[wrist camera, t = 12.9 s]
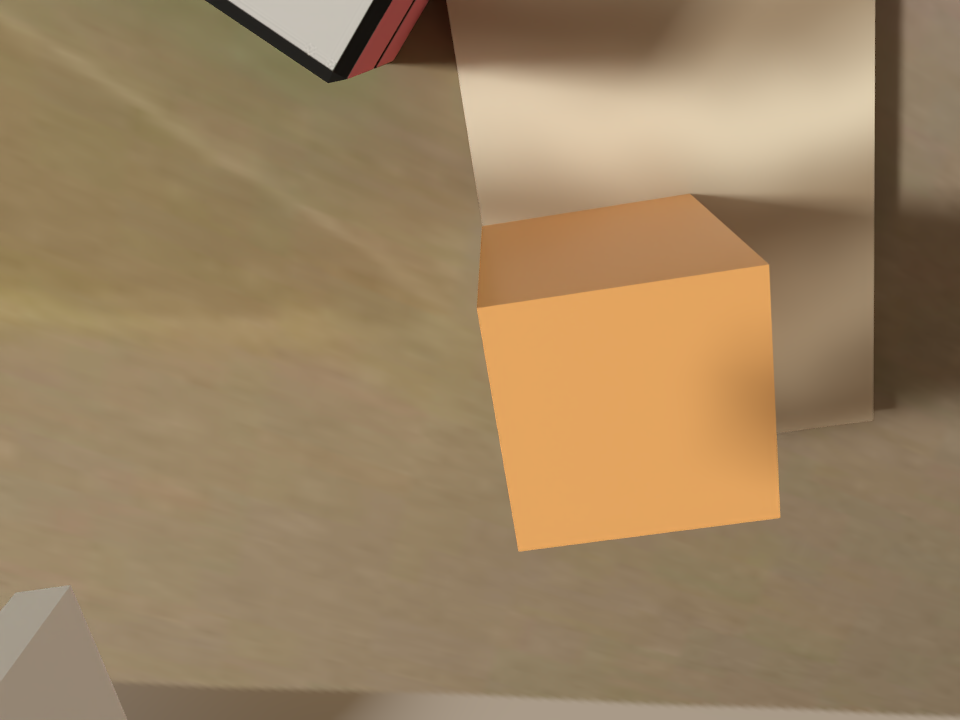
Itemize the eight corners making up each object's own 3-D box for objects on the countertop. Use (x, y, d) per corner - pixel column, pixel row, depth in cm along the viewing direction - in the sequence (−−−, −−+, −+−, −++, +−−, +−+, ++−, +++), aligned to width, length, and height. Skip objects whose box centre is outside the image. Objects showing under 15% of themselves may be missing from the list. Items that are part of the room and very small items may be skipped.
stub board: (440, -52, 28) (423, -72, 21) (859, -126, 27) (971, -171, 20) (520, 452, 34) (525, 550, 28) (860, 407, 33) (945, 497, 27)
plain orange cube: (482, 226, 30) (477, 308, 21) (689, 193, 29) (769, 264, 21) (512, 412, 32) (518, 551, 24) (704, 385, 31) (780, 517, 23)
